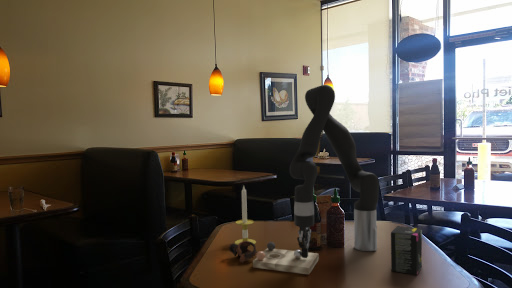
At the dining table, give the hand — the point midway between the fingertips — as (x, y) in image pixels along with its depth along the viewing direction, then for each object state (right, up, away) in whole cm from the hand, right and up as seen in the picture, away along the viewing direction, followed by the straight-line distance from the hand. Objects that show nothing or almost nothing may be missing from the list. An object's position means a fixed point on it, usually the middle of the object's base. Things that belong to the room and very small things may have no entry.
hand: (305, 257), depth 150 cm
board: (-7, -3, +3) cm, 8 cm away
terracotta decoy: (-17, 0, +1) cm, 17 cm away
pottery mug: (-24, -4, +10) cm, 26 cm away
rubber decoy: (-13, +1, +12) cm, 17 cm away
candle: (-24, -2, +31) cm, 39 cm away
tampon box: (+37, -3, -5) cm, 38 cm away
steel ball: (-2, +1, +1) cm, 3 cm away
